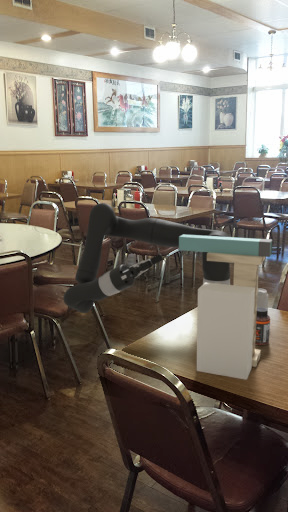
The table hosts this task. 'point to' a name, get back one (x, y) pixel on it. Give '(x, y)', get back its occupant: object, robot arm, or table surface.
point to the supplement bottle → (262, 326)
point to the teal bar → (226, 245)
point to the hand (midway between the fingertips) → (156, 259)
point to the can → (262, 298)
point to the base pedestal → (225, 329)
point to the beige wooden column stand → (244, 282)
